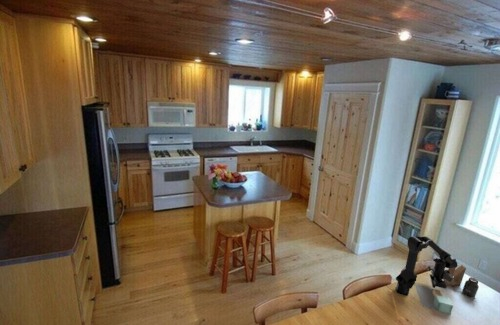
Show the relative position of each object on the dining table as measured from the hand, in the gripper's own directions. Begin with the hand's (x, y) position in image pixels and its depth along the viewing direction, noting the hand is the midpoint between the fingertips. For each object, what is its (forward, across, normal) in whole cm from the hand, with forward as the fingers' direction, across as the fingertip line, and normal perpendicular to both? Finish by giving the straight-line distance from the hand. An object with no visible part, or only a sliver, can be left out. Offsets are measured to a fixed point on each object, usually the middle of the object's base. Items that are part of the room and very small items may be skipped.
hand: (433, 287), depth 177 cm
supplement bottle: (+2, +5, -22) cm, 22 cm away
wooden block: (+2, +12, -15) cm, 19 cm away
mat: (+2, -10, +4) cm, 11 cm away
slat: (+1, -12, 0) cm, 12 cm away
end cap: (+1, -18, 0) cm, 18 cm away
